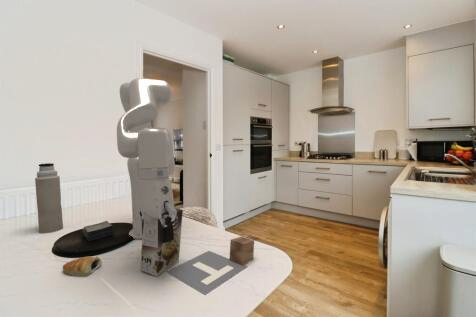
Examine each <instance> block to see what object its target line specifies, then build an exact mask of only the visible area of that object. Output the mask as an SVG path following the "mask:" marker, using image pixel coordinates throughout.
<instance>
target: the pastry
mask: <svg viewBox="0 0 476 317" xmlns="http://www.w3.org/2000/svg"><path fill="white" fill-rule="evenodd" d="M101 264H102V260H101V258H100V257H98V256H89V255H88V256H84V257H79V258H75V259H73V260H71V261H68V262H66V263H65V264H63V265H62V271H63V272H64V273H66V274H68V275H70V276H77V277H88V276H90V275H92V274H94V272H95V271H96V270H97V269H98V268H100V267H101V266H102V265H101Z"/></svg>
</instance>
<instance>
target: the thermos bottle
mask: <svg viewBox="0 0 476 317" xmlns="http://www.w3.org/2000/svg"><path fill="white" fill-rule="evenodd" d="M54 166H55V164H54V163H51V162H50V163H49V162H48V163H39V164H38V167H39V169H38V171H37V172H36V177H35V178H34V181H35V183H34V185H35V193H36V194H35V195H36V209H37V220H38V221H37V222H38V232H39V233H40V234H50V233H54V232H58V231H60V230H62V229H64V222H63V210H62V195H61V194H62V192H61V181H60V180H61V179H60V175H58V170H55V167H54Z"/></svg>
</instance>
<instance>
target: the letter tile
mask: <svg viewBox="0 0 476 317" xmlns="http://www.w3.org/2000/svg"><path fill="white" fill-rule="evenodd" d="M229 259H230V258H228V257H226V256H223V255H221V254H219V253H216V252H213V251H211V250H207V251H206V252H203V253H201V254H200V255H197V256H195V257H193V258H191V259H188V260H187V261H185V262H182V263H181V264H179V265H177V266H173V268H172V267H171V269H170V268H169V269H168V270H166V271H165V273H166V274H168V275H170V276H172V277H174V278H175V279H177V280H178V281H180V282H182V283H183V284H185V285H187V286H189V287H190V288H192V289H194V290H195V291H197V292H199V293H200V294H202V295H204V296H207V295H208V294H210V293H211V292H213V291H214V290H216V289H217V288H219V287H220V286H222V285H223V284H224V283H227V281H229V280H230V279H232V278H233V277H235V276H237V275H238V274H239V273H240V272H243V271H244V270H245V269H247V268H248V265H246V264H245V265H240V264H238V263H235V262H233V261H230V260H229Z"/></svg>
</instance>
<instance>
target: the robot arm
mask: <svg viewBox="0 0 476 317" xmlns="http://www.w3.org/2000/svg"><path fill="white" fill-rule="evenodd" d="M119 97H120V98H119V99H120V101H121V105H122V107H123V110H124V113H123V115H122V116H121V117H120V119H119V120H118V123H117V125H116V145H117V151H118V153H119V154H120V156H121V157H122V158H127V162H126V164H127V170H128V176H129V182H130V192H131V194H130V195H131V212H132V213H131V214H132V221H131V225H132V229H131V230H129V232H128V236H129V235H130V236H132V237H133V238H132V239H136V240H142V239H143V227H144V215H145V213H147V215H148V217H151V218H155V219H160V221H161V224H162V226H163V227H161V235H162V243H166V242H169V241H172V240H174V233H173V225H174V222H175V220H176V214H177V210H176V209H175V208H176V207H175V201H174V199H175V198H174V192H173V186H172V183H171V179H170V176H172V175H173V174H174V173H175V169H176V168H175V167H176V163H175V161H176V160H175V153H174V146H173V145H174V144H173V139H172V135H171V132H170V131H169V129H168V128H165V127H152V122H153V121H154V120H155V119H156V118H157V117H158V113H159V110H158V106H166V105H168V104H169V103H170V102H171V100H172V88H171V86H170V84H169V82H167V81H166V80H164V79H163V80H162V79H155V78H153V79H152V78H142V77H141V78H140V77H139V78H134V79H132V80H131V81H130V82H125V83H122V84H121V85H120V87H119ZM164 214H165V215H164ZM165 218H167V220H166V221H165ZM130 236H129V237H130Z"/></svg>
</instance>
